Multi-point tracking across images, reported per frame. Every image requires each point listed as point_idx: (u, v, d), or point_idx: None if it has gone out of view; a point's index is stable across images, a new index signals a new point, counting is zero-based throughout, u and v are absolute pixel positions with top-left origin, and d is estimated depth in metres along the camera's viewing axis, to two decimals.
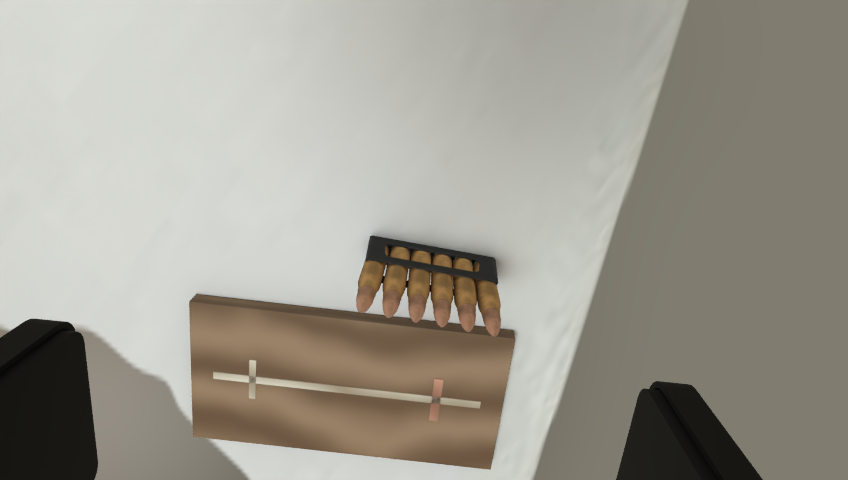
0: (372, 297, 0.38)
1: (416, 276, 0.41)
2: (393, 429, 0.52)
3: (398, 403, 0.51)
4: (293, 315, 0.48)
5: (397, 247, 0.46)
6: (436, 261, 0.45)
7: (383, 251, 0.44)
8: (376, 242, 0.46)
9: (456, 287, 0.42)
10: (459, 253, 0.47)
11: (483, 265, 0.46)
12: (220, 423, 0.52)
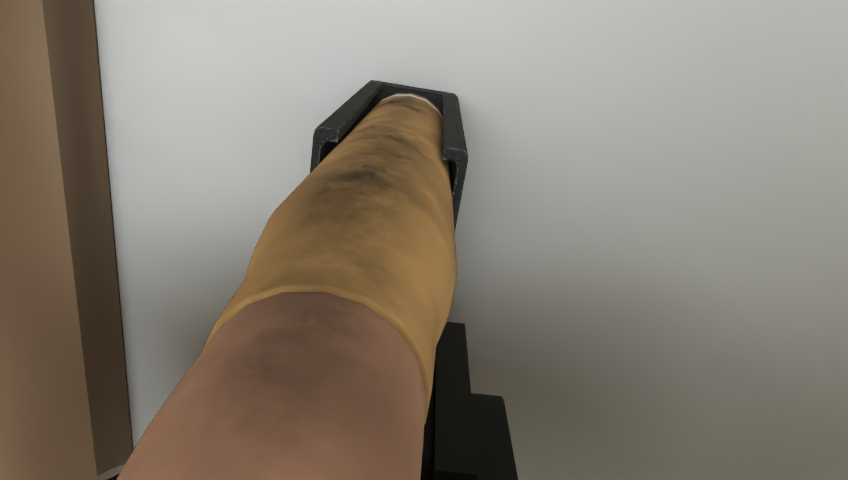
0: None
1: None
2: None
3: None
4: None
5: None
6: None
7: None
8: None
9: None
10: None
11: None
12: None
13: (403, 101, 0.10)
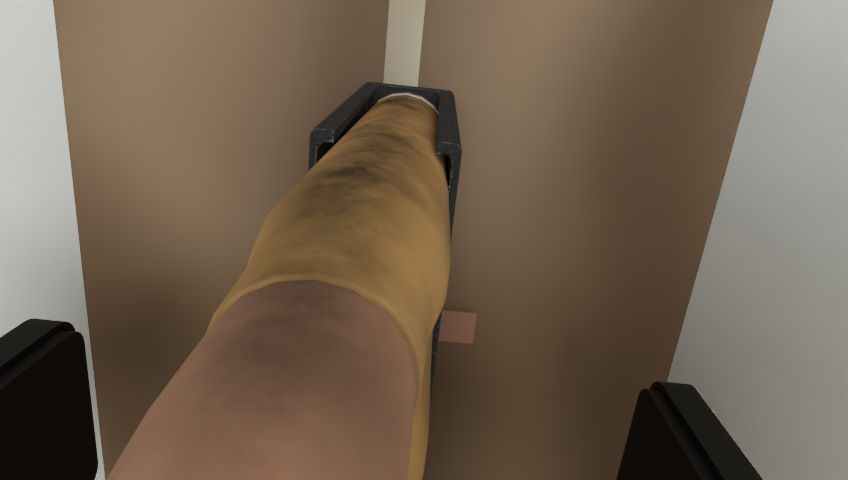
0: None
1: None
2: (221, 154, 0.12)
3: None
4: None
5: None
6: None
7: None
8: None
9: None
10: None
11: None
12: None
13: (399, 100, 0.10)
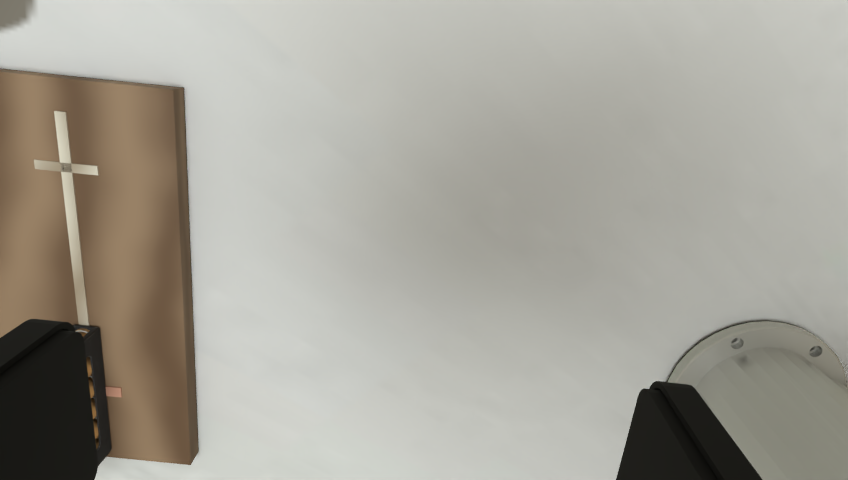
0: None
1: None
2: None
3: None
4: (176, 228, 0.37)
5: (89, 366, 0.39)
6: None
7: None
8: (88, 345, 0.38)
9: None
10: (104, 422, 0.41)
11: None
12: None
13: None
